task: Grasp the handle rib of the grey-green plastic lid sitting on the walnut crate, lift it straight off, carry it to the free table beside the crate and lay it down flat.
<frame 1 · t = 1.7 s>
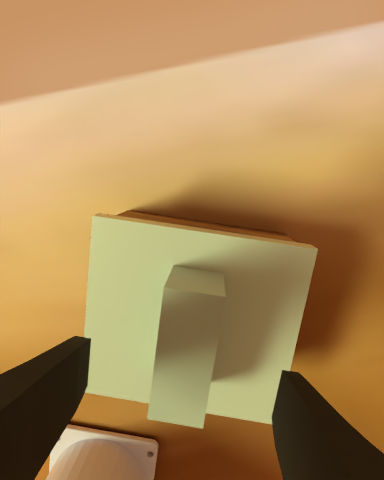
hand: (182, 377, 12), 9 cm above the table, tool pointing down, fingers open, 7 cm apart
lid: (191, 317, 16), point 4 cm above the table, touching crate
crate: (195, 288, 21), on the table
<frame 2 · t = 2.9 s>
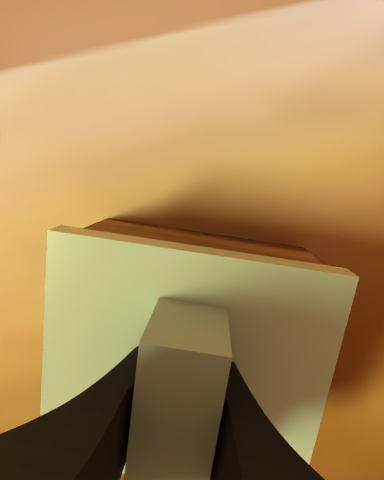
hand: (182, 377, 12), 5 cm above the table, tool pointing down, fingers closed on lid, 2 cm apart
lid: (184, 361, 12), point 4 cm above the table, touching crate, gripper
crate: (191, 315, 17), on the table
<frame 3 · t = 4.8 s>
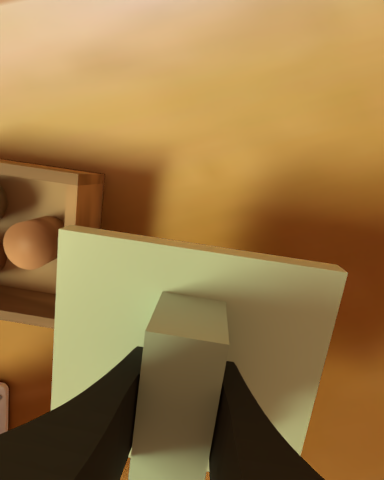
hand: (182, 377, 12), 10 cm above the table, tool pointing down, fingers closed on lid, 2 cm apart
lid: (185, 352, 13), point 8 cm above the table, touching gripper
crate: (27, 230, 21), on the table
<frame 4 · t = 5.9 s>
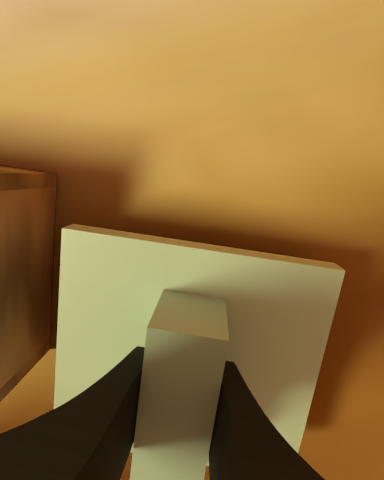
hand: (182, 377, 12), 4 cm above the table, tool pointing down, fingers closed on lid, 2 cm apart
lid: (186, 349, 14), point 2 cm above the table, touching gripper
when the fingers open (3 cm above the table, at t = 6.8 s): lid stays where it is, on the table.
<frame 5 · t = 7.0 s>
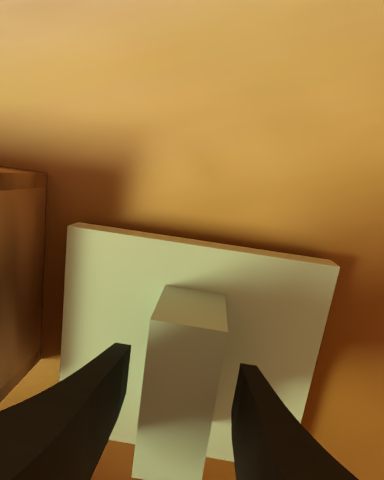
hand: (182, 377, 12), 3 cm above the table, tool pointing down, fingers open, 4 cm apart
lid: (187, 343, 14), on the table
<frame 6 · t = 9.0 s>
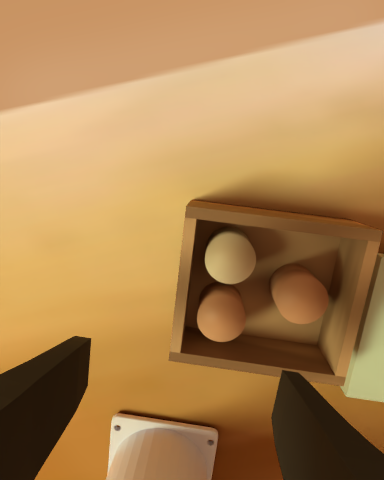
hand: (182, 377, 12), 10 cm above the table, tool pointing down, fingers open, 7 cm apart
crate: (258, 276, 21), on the table
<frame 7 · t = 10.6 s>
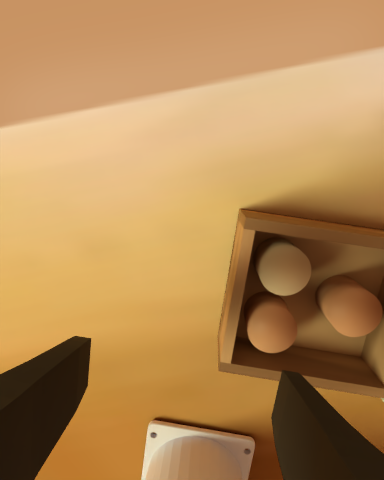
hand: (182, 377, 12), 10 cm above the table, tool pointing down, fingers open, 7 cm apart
crate: (302, 286, 21), on the table
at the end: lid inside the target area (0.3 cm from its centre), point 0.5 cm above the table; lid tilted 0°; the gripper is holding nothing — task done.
